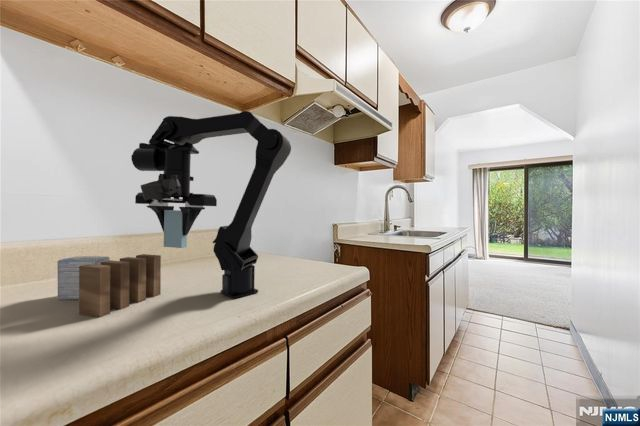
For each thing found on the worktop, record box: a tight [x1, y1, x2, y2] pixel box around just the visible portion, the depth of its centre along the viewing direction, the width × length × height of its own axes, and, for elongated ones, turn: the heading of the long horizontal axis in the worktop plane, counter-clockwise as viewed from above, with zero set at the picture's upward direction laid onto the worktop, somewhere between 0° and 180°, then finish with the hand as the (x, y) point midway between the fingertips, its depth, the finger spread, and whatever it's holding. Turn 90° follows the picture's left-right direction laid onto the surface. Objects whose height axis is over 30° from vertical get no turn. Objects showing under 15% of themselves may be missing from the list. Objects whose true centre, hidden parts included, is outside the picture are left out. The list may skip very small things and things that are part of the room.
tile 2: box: [135, 253, 162, 298], centre depth 59 cm, size 2×5×9 cm, turn 77°
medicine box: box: [56, 255, 111, 300], centre depth 57 cm, size 8×4×9 cm, turn 92°
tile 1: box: [163, 209, 188, 249], centre depth 64 cm, size 2×5×9 cm, turn 79°
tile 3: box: [119, 256, 147, 304], centre depth 56 cm, size 2×5×9 cm, turn 77°
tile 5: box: [78, 264, 111, 318], centre depth 48 cm, size 2×5×9 cm, turn 77°
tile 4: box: [101, 259, 130, 311], centre depth 52 cm, size 2×5×9 cm, turn 77°
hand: (175, 234), depth 64 cm, fingers closed on tile 1, 5 cm apart
